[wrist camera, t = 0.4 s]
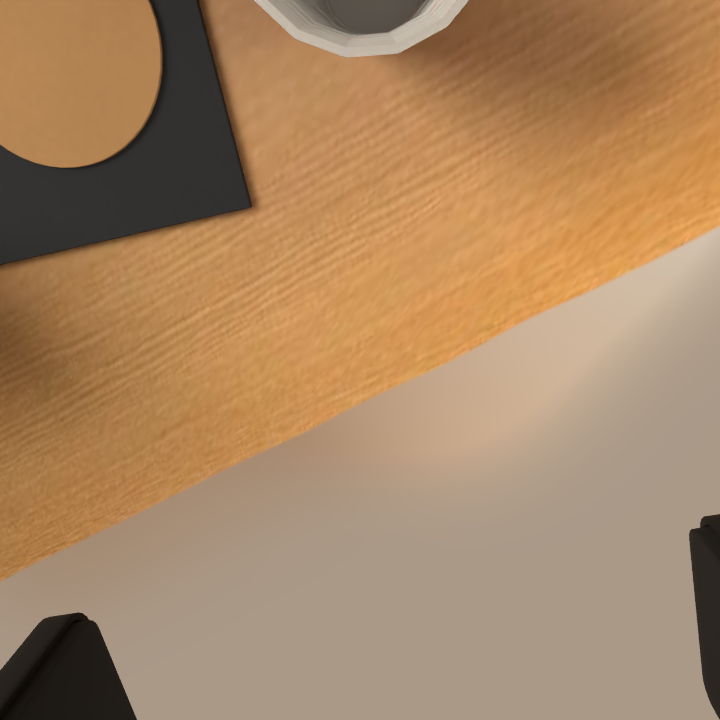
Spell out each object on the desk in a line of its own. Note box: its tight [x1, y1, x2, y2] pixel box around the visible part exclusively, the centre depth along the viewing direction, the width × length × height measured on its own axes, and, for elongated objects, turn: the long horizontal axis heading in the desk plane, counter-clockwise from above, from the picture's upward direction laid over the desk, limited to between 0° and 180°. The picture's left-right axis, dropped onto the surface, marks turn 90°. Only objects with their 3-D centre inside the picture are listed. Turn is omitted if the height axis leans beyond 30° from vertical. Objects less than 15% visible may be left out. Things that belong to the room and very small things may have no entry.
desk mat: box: [0, 0, 252, 265], centre depth 36 cm, size 22×18×1 cm
